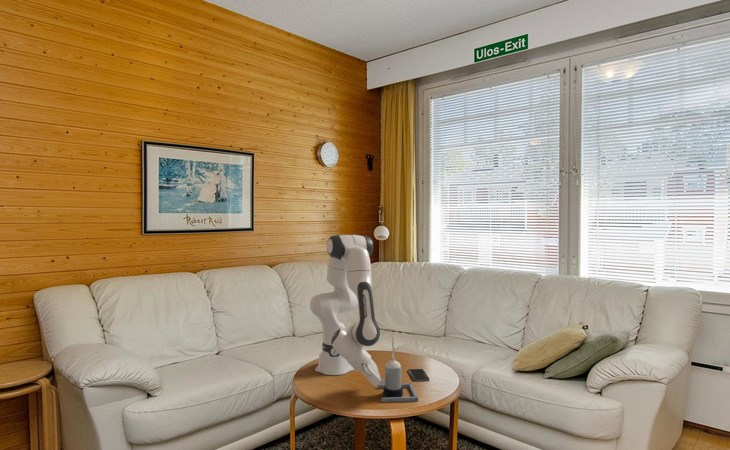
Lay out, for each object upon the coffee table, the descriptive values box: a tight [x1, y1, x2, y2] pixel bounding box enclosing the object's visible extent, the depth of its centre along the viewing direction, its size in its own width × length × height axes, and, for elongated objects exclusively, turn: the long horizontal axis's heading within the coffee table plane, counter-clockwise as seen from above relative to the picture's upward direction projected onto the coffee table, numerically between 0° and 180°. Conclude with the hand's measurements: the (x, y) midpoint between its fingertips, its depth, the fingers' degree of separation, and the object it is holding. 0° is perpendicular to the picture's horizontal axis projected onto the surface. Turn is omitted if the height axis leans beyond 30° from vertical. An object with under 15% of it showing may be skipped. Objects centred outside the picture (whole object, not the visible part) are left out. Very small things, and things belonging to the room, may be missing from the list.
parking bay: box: [377, 383, 419, 403], centre depth 195 cm, size 16×15×2 cm
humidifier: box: [382, 336, 404, 398], centre depth 194 cm, size 8×8×25 cm
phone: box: [407, 368, 430, 382], centre depth 218 cm, size 8×1×15 cm
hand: (384, 383), depth 194 cm, fingers closed, pressing on humidifier
